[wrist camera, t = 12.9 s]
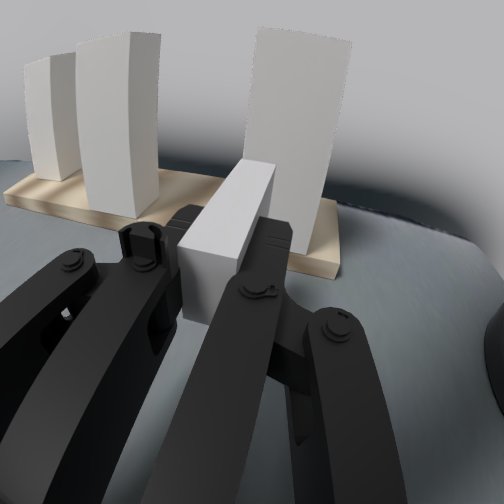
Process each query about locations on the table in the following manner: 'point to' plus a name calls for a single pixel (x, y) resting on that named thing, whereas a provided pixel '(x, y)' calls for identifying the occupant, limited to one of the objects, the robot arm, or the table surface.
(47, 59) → the tile
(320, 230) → the key base
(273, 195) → the tile
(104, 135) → the white tall block
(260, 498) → the table surface
